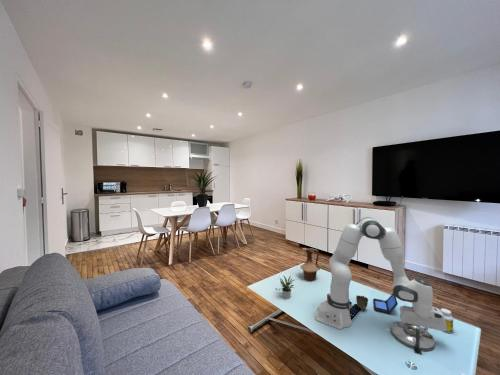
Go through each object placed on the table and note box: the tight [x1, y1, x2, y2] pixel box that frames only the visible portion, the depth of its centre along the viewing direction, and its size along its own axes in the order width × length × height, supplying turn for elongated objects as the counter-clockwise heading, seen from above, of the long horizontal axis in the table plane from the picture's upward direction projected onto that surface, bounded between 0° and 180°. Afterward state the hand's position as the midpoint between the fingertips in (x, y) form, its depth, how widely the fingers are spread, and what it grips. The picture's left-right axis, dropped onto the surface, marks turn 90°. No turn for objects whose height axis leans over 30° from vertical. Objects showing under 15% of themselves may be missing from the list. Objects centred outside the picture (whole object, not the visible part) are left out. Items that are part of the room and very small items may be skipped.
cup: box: [355, 295, 369, 311], centre depth 146 cm, size 8×7×8 cm
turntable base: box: [390, 330, 436, 353], centre depth 120 cm, size 20×20×1 cm
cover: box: [403, 323, 416, 337], centre depth 120 cm, size 7×7×5 cm
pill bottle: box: [440, 308, 454, 334], centre depth 125 cm, size 6×6×12 cm
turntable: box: [390, 320, 435, 349], centre depth 120 cm, size 20×20×8 cm
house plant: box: [279, 275, 297, 300], centre depth 162 cm, size 14×14×16 cm
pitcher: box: [300, 247, 321, 282], centre depth 191 cm, size 18×17×28 cm
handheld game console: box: [372, 292, 398, 316], centre depth 147 cm, size 16×13×9 cm
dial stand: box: [412, 324, 423, 355], centre depth 112 cm, size 3×8×12 cm, turn 155°
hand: (422, 333), depth 118 cm, fingers closed
